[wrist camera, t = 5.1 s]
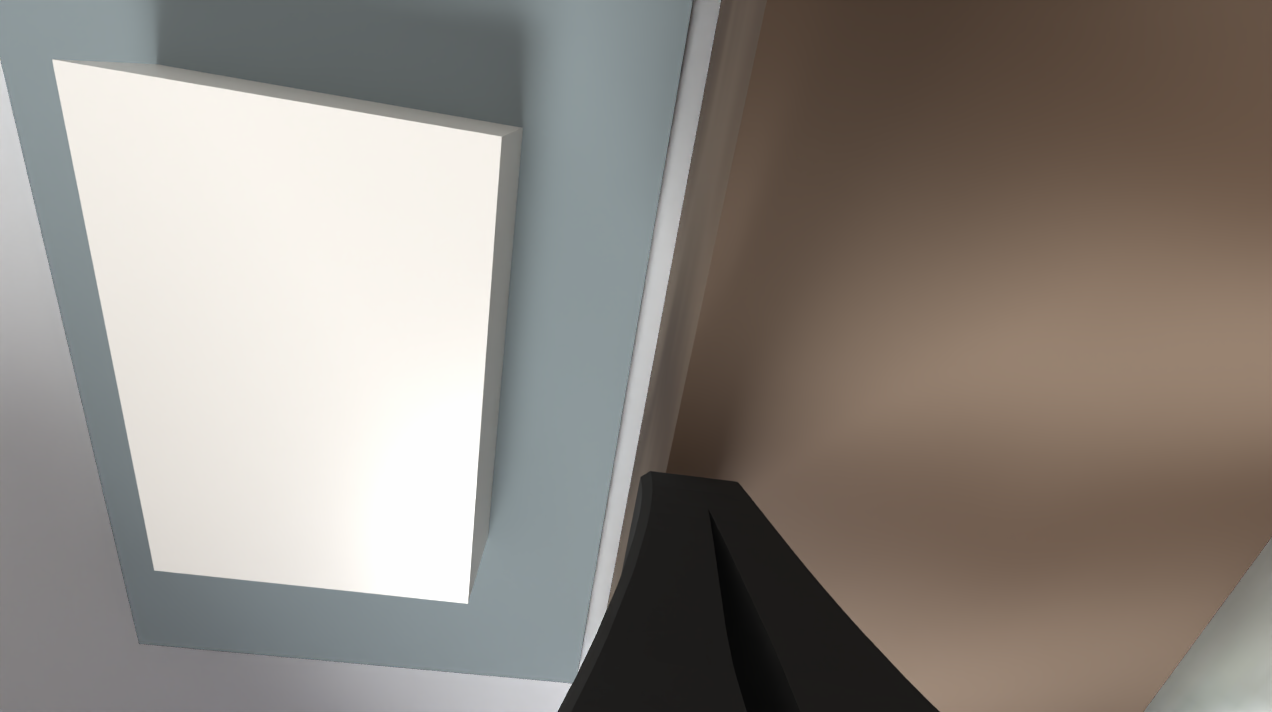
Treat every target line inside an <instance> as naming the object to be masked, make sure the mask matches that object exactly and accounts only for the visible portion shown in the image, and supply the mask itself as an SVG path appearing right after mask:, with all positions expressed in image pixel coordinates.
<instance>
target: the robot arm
mask: <svg viewBox="0 0 1272 712" xmlns="http://www.w3.org/2000/svg"><path fill="white" fill-rule="evenodd" d="M558 712H940V711H939V710H938V709H937V708H936V707H935V706H933V705H932V704H931V703H930V702H929V701H928V700H927V699H926V698H925V697H924V696H923V695H922V694H921V693H920V692H919V691H918V690H917V689H916V688H915V687H914V686H913V685H912V684H911V683H910V682H909V680H908V679H907V678H906V677H905V676H904V675H903V674H902V673H901V672H900V671H899V670H898V669H897V668H896V667H895V666H894V665H893V664H892V663H891V662H890V660H889V659H888V658H887V657H886V656H885V655H884V654H883V653H882V652H881V651H880V650H879V649H878V648H877V647H876V646H875V644H874V643H873V642H872V641H871V640H870V639H869V638H868V637H867V636H866V635H865V634H864V633H863V632H862V631H861V630H860V628H859V627H858V626H857V625H856V624H855V623H854V622H853V621H852V620H851V618H850V617H849V616H848V615H847V614H846V613H845V612H844V611H843V609H842V608H841V607H840V606H839V605H838V604H837V603H836V601H835V600H834V599H833V598H832V597H831V596H830V594H829V593H828V592H827V591H826V590H825V589H824V588H823V586H822V585H821V584H820V583H819V582H818V580H817V579H816V578H815V577H814V576H813V574H812V573H811V572H810V571H809V570H808V568H807V567H806V566H805V565H804V564H803V562H802V561H801V560H800V559H799V558H798V556H797V555H796V554H795V553H794V551H793V550H792V549H791V548H790V546H789V545H788V544H787V543H786V541H785V540H784V539H783V538H782V536H781V535H780V534H779V533H778V531H777V530H776V529H775V528H774V526H773V525H772V524H771V523H770V521H769V520H768V519H767V518H766V516H765V515H764V514H763V512H762V511H761V510H760V509H759V507H758V506H757V505H756V504H755V502H754V501H753V500H752V499H751V497H750V496H749V495H748V494H747V492H746V491H745V490H744V489H743V487H742V486H741V485H740V484H739V483H738V482H736V481H728V480H720V479H712V478H704V477H695V476H687V475H679V474H671V473H663V472H655V471H649V472H648V473H646V474H644V475H643V476H641V477H640V482H639V487H638V492H637V497H636V502H635V507H634V512H633V517H632V522H631V528H630V533H629V538H628V543H627V548H626V553H625V558H624V563H623V568H622V573H621V577H620V579H619V582H618V585H617V587H616V590H615V592H614V594H613V597H612V599H611V601H610V604H609V606H608V608H607V611H606V613H605V615H604V618H603V620H602V622H601V625H600V627H599V629H598V632H597V634H596V636H595V638H594V641H593V643H592V645H591V647H590V649H589V651H588V653H587V655H586V657H585V659H584V662H583V664H582V666H581V668H580V670H579V672H578V674H577V676H576V678H575V680H574V682H573V683H572V685H571V687H570V689H569V691H568V693H567V695H566V697H565V699H564V701H563V703H562V704H561V706H560V708H559V710H558Z"/></svg>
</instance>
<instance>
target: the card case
mask: <svg viewBox="0 0 1272 712" xmlns="http://www.w3.org/2000/svg"><path fill="white" fill-rule="evenodd" d="M52 62H53V67H54V72H55V77H56V82H57V87H58V92H59V97H60V102H61V107H62V112H63V117H64V122H65V127H66V132H67V137H68V142H69V147H70V152H71V157H72V162H73V167H74V172H75V177H76V182H77V187H78V192H79V197H80V202H81V207H82V212H83V217H84V222H85V227H86V232H87V237H88V242H89V247H90V252H91V257H92V262H93V267H94V272H95V277H96V282H97V287H98V292H99V297H100V302H101V307H102V312H103V317H104V322H105V327H106V332H107V337H108V342H109V347H110V352H111V357H112V362H113V367H114V372H115V377H116V382H117V387H118V392H119V397H120V402H121V407H122V412H123V417H124V422H125V427H126V432H127V437H128V442H129V447H130V452H131V457H132V462H133V467H134V472H135V477H136V482H137V487H138V492H139V497H140V502H141V507H142V512H143V517H144V522H145V527H146V532H147V537H148V542H149V547H150V552H151V557H152V562H153V567H154V571H164V572H173V573H183V574H192V575H202V576H211V577H221V578H230V579H239V580H249V581H258V582H268V583H277V584H287V585H296V586H306V587H315V588H324V589H334V590H343V591H353V592H362V593H372V594H381V595H391V596H400V597H409V598H419V599H428V600H438V601H447V602H457V603H466V604H468V602H469V598H470V595H471V592H472V588H473V585H474V581H475V578H476V575H477V571H478V568H479V565H480V561H481V558H482V555H483V551H484V548H485V545H486V541H487V538H488V530H489V518H490V507H491V495H492V483H493V471H494V460H495V448H496V436H497V425H498V413H499V401H500V389H501V378H502V366H503V354H504V342H505V331H506V319H507V307H508V296H509V284H510V272H511V260H512V249H513V237H514V225H515V214H516V202H517V190H518V178H519V167H520V155H521V143H522V132H523V128H521V127H515V126H510V125H504V124H498V123H492V122H487V121H481V120H475V119H469V118H464V117H458V116H452V115H446V114H441V113H435V112H429V111H423V110H417V109H412V108H406V107H400V106H394V105H389V104H383V103H377V102H371V101H366V100H360V99H354V98H348V97H343V96H337V95H331V94H325V93H320V92H314V91H308V90H302V89H296V88H291V87H285V86H279V85H273V84H268V83H262V82H256V81H250V80H245V79H239V78H233V77H227V76H222V75H216V74H210V73H204V72H198V71H193V70H187V69H181V68H175V67H170V66H164V65H158V64H141V63H119V62H98V61H77V60H55V59H52Z"/></svg>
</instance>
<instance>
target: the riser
mask: <svg viewBox="0 0 1272 712" xmlns="http://www.w3.org/2000/svg"><path fill="white" fill-rule="evenodd" d="M649 471H655V472H663V473H671V474H679V475H687V476H695V477H704V478H712V479H720V480H728V481H736V482H738V483H739V484H740V485H741V486H742V487H743V489H744V490H745V491H746V492H747V494H748V495H749V496H750V497H751V499H752V500H753V501H754V502H755V504H756V505H757V506H758V507H759V509H760V510H761V511H762V512H763V514H764V515H765V516H766V518H767V519H768V520H769V521H770V523H771V524H772V525H773V526H774V528H775V529H776V530H777V531H778V533H779V534H780V535H781V536H782V538H783V539H784V540H785V541H786V543H787V544H788V545H789V546H790V548H791V549H792V550H793V551H794V553H795V554H796V555H797V556H798V558H799V559H800V560H801V561H802V562H803V564H804V565H805V566H806V567H807V568H808V570H809V571H810V572H811V573H812V574H813V576H814V577H815V578H816V579H817V580H818V582H819V583H820V584H821V585H822V586H823V588H824V589H825V590H826V591H827V592H828V593H829V594H830V596H831V597H832V598H833V599H834V600H835V601H836V603H837V604H838V605H839V606H840V607H841V608H842V609H843V611H844V612H845V613H846V614H847V615H848V616H849V617H850V618H851V620H852V621H853V622H854V623H855V624H856V625H857V626H858V627H859V628H860V630H861V631H862V632H863V633H864V634H865V635H866V636H867V637H868V638H869V639H870V640H871V641H872V642H873V643H874V644H875V646H876V647H877V648H878V649H879V650H880V651H881V652H882V653H883V654H884V655H885V656H886V657H887V658H888V659H889V660H890V662H891V663H892V664H893V665H894V666H895V667H896V668H897V669H898V670H899V671H900V672H901V673H902V674H903V675H904V676H905V677H906V678H907V679H908V680H909V682H910V683H911V684H912V685H913V686H914V687H915V688H916V689H917V690H918V691H919V692H920V693H921V694H922V695H923V696H924V697H925V698H926V699H927V700H928V701H929V702H930V703H931V704H932V705H933V706H935V707H936V708H937V709H938V710H939V711H940V712H1144V710H1145V709H1146V707H1147V706H1148V705H1149V703H1150V702H1151V701H1152V699H1153V698H1154V697H1155V695H1156V694H1157V693H1158V691H1159V690H1160V688H1161V687H1162V686H1163V684H1164V683H1165V682H1166V680H1167V679H1168V678H1169V676H1170V675H1171V673H1172V672H1173V671H1174V669H1175V668H1176V667H1177V665H1178V664H1179V663H1180V661H1181V660H1182V658H1183V657H1184V656H1185V654H1186V653H1187V652H1188V650H1189V649H1190V648H1191V646H1192V645H1193V643H1194V642H1195V641H1196V639H1197V638H1198V637H1199V635H1200V634H1201V633H1202V631H1203V630H1204V629H1205V627H1206V626H1207V624H1208V623H1209V622H1210V620H1211V619H1212V618H1213V616H1214V615H1215V614H1216V612H1217V611H1218V609H1219V608H1220V607H1221V605H1222V604H1223V603H1224V601H1225V600H1226V599H1227V597H1228V596H1229V594H1230V593H1231V592H1232V590H1233V589H1234V588H1235V586H1236V585H1237V584H1238V582H1239V581H1240V579H1241V578H1242V577H1243V575H1244V574H1245V573H1246V571H1247V570H1248V569H1249V567H1250V566H1251V565H1252V563H1253V562H1254V560H1255V559H1256V558H1257V556H1258V555H1259V554H1260V552H1261V551H1262V550H1263V548H1264V547H1265V545H1266V544H1267V543H1268V541H1269V540H1270V539H1271V537H1272V0H721V5H720V10H719V15H718V21H717V26H716V31H715V36H714V42H713V47H712V52H711V58H710V63H709V68H708V74H707V79H706V84H705V90H704V95H703V100H702V106H701V111H700V116H699V122H698V127H697V132H696V138H695V143H694V148H693V154H692V159H691V164H690V170H689V175H688V180H687V186H686V191H685V196H684V202H683V207H682V212H681V218H680V223H679V228H678V233H677V239H676V244H675V249H674V255H673V260H672V265H671V271H670V276H669V281H668V287H667V292H666V297H665V303H664V308H663V313H662V319H661V324H660V329H659V335H658V340H657V345H656V351H655V356H654V361H653V367H652V372H651V377H650V383H649V388H648V393H647V399H646V404H645V409H644V415H643V420H642V425H641V430H640V436H639V441H638V446H637V452H636V457H635V462H634V468H633V473H632V478H631V484H630V489H629V494H628V500H627V505H626V510H625V516H624V521H623V526H622V532H621V537H620V542H619V548H618V553H617V558H616V564H615V569H614V574H613V580H612V585H611V590H610V596H609V601H608V606H609V604H610V601H611V599H612V597H613V594H614V592H615V590H616V587H617V585H618V582H619V579H620V577H621V573H622V568H623V563H624V558H625V553H626V548H627V543H628V538H629V533H630V528H631V522H632V517H633V512H634V507H635V502H636V497H637V492H638V487H639V482H640V477H641V476H643V475H644V474H646V473H648V472H649ZM608 606H607V608H608Z"/></svg>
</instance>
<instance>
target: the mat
mask: <svg viewBox="0 0 1272 712" xmlns="http://www.w3.org/2000/svg"><path fill="white" fill-rule="evenodd" d="M692 3H693V0H0V60H1V64H2V68H3V73H4V77H5V81H6V85H7V89H8V94H9V98H10V102H11V106H12V110H13V115H14V119H15V123H16V127H17V131H18V136H19V140H20V144H21V148H22V153H23V157H24V161H25V165H26V169H27V174H28V178H29V182H30V186H31V190H32V195H33V199H34V203H35V207H36V212H37V216H38V220H39V224H40V228H41V233H42V237H43V241H44V245H45V249H46V254H47V258H48V262H49V266H50V270H51V275H52V279H53V283H54V287H55V292H56V296H57V300H58V304H59V308H60V313H61V317H62V321H63V325H64V329H65V334H66V338H67V342H68V346H69V351H70V355H71V359H72V363H73V367H74V372H75V376H76V380H77V384H78V388H79V393H80V397H81V401H82V405H83V409H84V414H85V418H86V422H87V426H88V431H89V435H90V439H91V443H92V447H93V452H94V456H95V460H96V464H97V468H98V473H99V477H100V481H101V485H102V489H103V494H104V498H105V502H106V506H107V511H108V515H109V519H110V523H111V527H112V532H113V536H114V540H115V544H116V548H117V553H118V557H119V561H120V565H121V570H122V574H123V578H124V582H125V586H126V591H127V595H128V599H129V603H130V607H131V612H132V616H133V620H134V624H135V628H136V633H137V637H138V641H139V644H148V645H159V646H170V647H181V648H191V649H202V650H213V651H224V652H235V653H246V654H257V655H268V656H279V657H290V658H301V659H312V660H323V661H334V662H345V663H356V664H367V665H377V666H388V667H399V668H410V669H421V670H432V671H443V672H454V673H465V674H476V675H487V676H498V677H509V678H520V679H531V680H542V681H552V682H563V683H573V682H574V680H575V678H576V676H577V674H578V668H579V662H580V656H581V651H582V645H583V639H584V633H585V627H586V621H587V616H588V610H589V604H590V598H591V592H592V586H593V581H594V575H595V569H596V563H597V557H598V551H599V546H600V540H601V534H602V528H603V522H604V516H605V511H606V505H607V499H608V493H609V487H610V481H611V476H612V470H613V464H614V458H615V452H616V446H617V441H618V435H619V429H620V423H621V417H622V411H623V406H624V400H625V394H626V388H627V382H628V376H629V371H630V365H631V359H632V353H633V347H634V341H635V336H636V330H637V324H638V318H639V312H640V306H641V301H642V295H643V289H644V283H645V277H646V271H647V266H648V260H649V254H650V248H651V242H652V236H653V231H654V225H655V219H656V213H657V207H658V201H659V196H660V190H661V184H662V178H663V172H664V166H665V161H666V155H667V149H668V143H669V137H670V131H671V126H672V120H673V114H674V108H675V102H676V96H677V91H678V85H679V79H680V73H681V67H682V61H683V56H684V50H685V44H686V38H687V32H688V26H689V21H690V15H691V9H692ZM52 59H55V60H77V61H98V62H119V63H141V64H158V65H164V66H170V67H175V68H181V69H187V70H193V71H198V72H204V73H210V74H216V75H222V76H227V77H233V78H239V79H245V80H250V81H256V82H262V83H268V84H273V85H279V86H285V87H291V88H296V89H302V90H308V91H314V92H320V93H325V94H331V95H337V96H343V97H348V98H354V99H360V100H366V101H371V102H377V103H383V104H389V105H394V106H400V107H406V108H412V109H417V110H423V111H429V112H435V113H441V114H446V115H452V116H458V117H464V118H469V119H475V120H481V121H487V122H492V123H498V124H504V125H510V126H515V127H521V128H523V132H522V143H521V155H520V167H519V178H518V190H517V202H516V214H515V225H514V237H513V249H512V260H511V272H510V284H509V296H508V307H507V319H506V331H505V342H504V354H503V366H502V378H501V389H500V401H499V413H498V425H497V436H496V448H495V460H494V471H493V483H492V495H491V507H490V518H489V530H488V538H487V541H486V545H485V548H484V551H483V555H482V558H481V561H480V565H479V568H478V571H477V575H476V578H475V581H474V585H473V588H472V592H471V595H470V598H469V602H468V604H466V603H457V602H447V601H438V600H428V599H419V598H409V597H400V596H391V595H381V594H372V593H362V592H353V591H343V590H334V589H324V588H315V587H306V586H296V585H287V584H277V583H268V582H258V581H249V580H239V579H230V578H221V577H211V576H202V575H192V574H183V573H173V572H164V571H154V567H153V562H152V557H151V552H150V547H149V542H148V537H147V532H146V527H145V522H144V517H143V512H142V507H141V502H140V497H139V492H138V487H137V482H136V477H135V472H134V467H133V462H132V457H131V452H130V447H129V442H128V437H127V432H126V427H125V422H124V417H123V412H122V407H121V402H120V397H119V392H118V387H117V382H116V377H115V372H114V367H113V362H112V357H111V352H110V347H109V342H108V337H107V332H106V327H105V322H104V317H103V312H102V307H101V302H100V297H99V292H98V287H97V282H96V277H95V272H94V267H93V262H92V257H91V252H90V247H89V242H88V237H87V232H86V227H85V222H84V217H83V212H82V207H81V202H80V197H79V192H78V187H77V182H76V177H75V172H74V167H73V162H72V157H71V152H70V147H69V142H68V137H67V132H66V127H65V122H64V117H63V112H62V107H61V102H60V97H59V92H58V87H57V82H56V77H55V72H54V67H53V62H52Z"/></svg>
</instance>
